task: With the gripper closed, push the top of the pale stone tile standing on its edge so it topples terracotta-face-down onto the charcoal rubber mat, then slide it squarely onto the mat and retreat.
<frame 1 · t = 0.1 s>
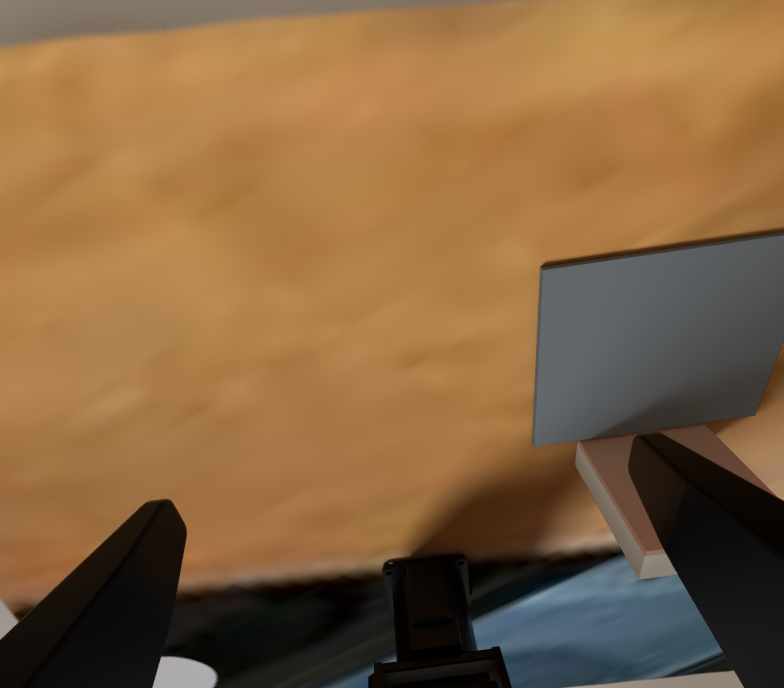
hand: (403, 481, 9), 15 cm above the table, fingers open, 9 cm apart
mat: (657, 347, 25), on the table
tile: (636, 445, 29), on the table
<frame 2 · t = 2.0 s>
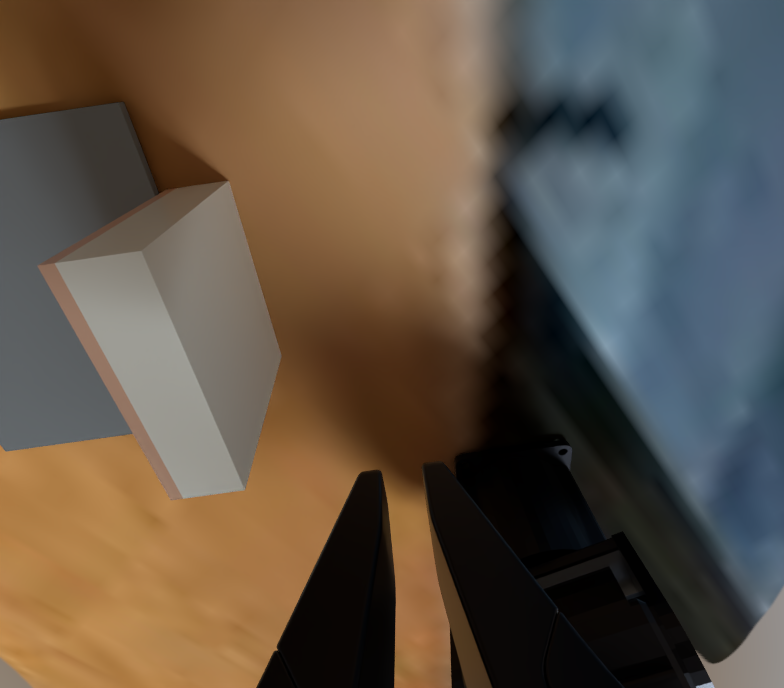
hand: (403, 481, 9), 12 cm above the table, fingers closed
mat: (56, 306, 19), on the table
tile: (234, 280, 19), on the table
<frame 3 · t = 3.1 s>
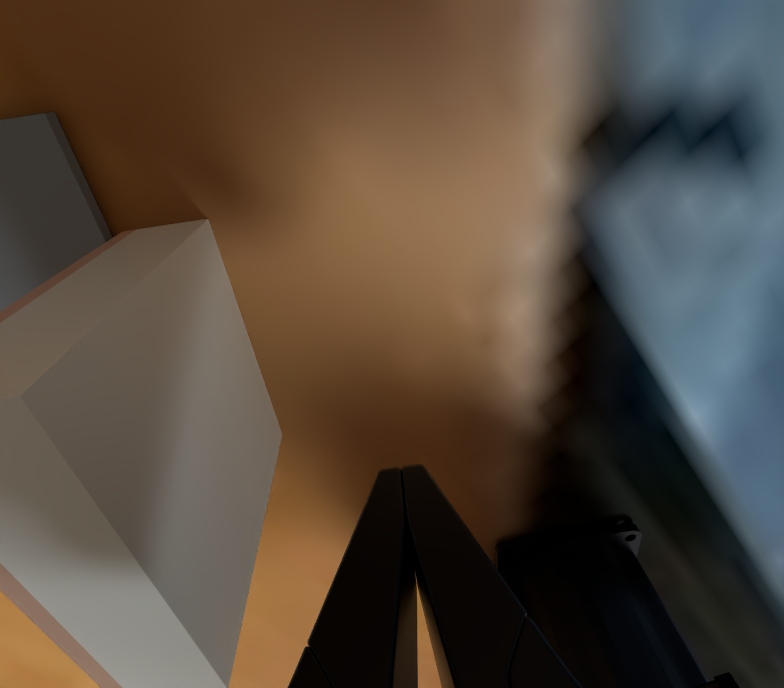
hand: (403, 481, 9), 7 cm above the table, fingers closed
tile: (220, 346, 14), on the table
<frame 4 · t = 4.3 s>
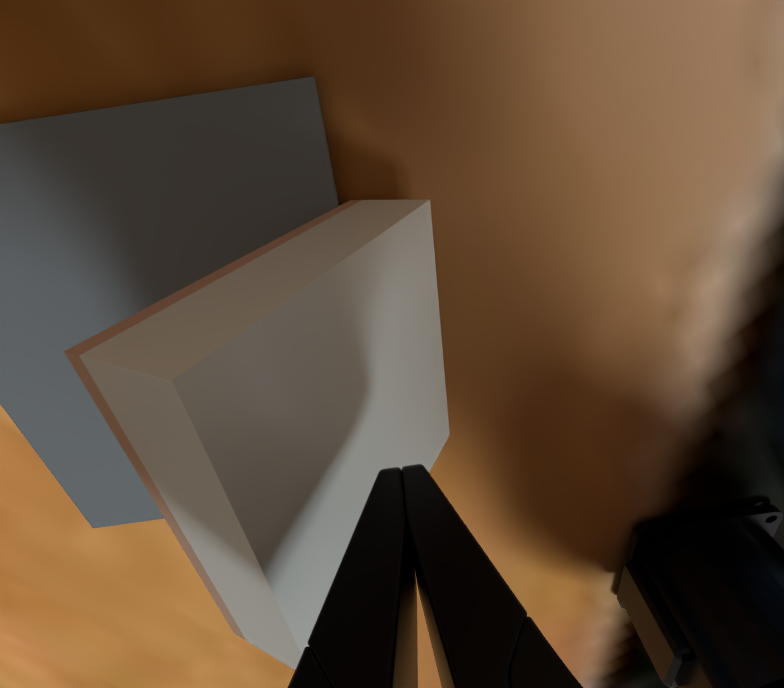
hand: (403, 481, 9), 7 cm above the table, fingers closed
mat: (178, 354, 14), on the table
tile: (411, 331, 14), point 1 cm above the table, tilted 31°
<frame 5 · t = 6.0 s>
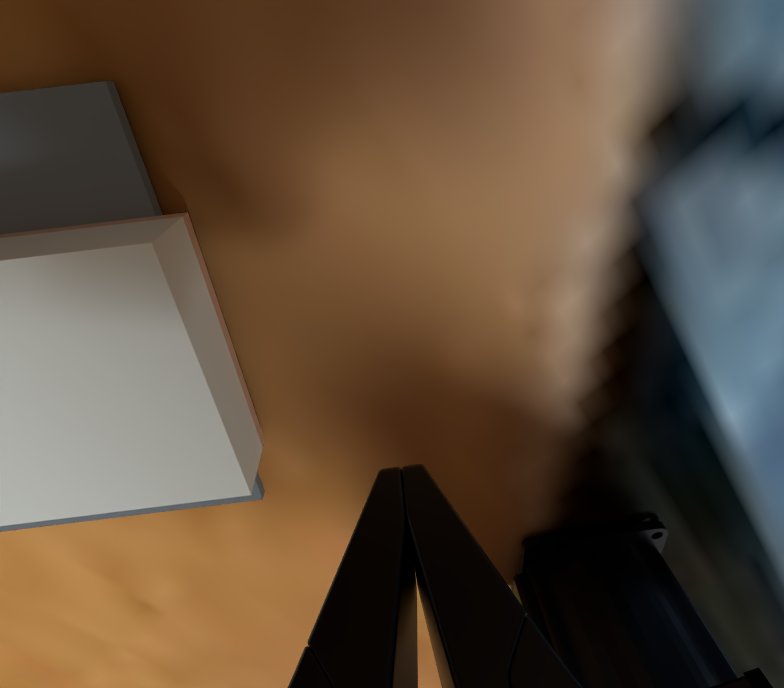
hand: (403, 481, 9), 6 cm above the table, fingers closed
mat: (16, 363, 14), on the table
tile: (220, 369, 12), point 2 cm above the table, tilted 90°, touching mat
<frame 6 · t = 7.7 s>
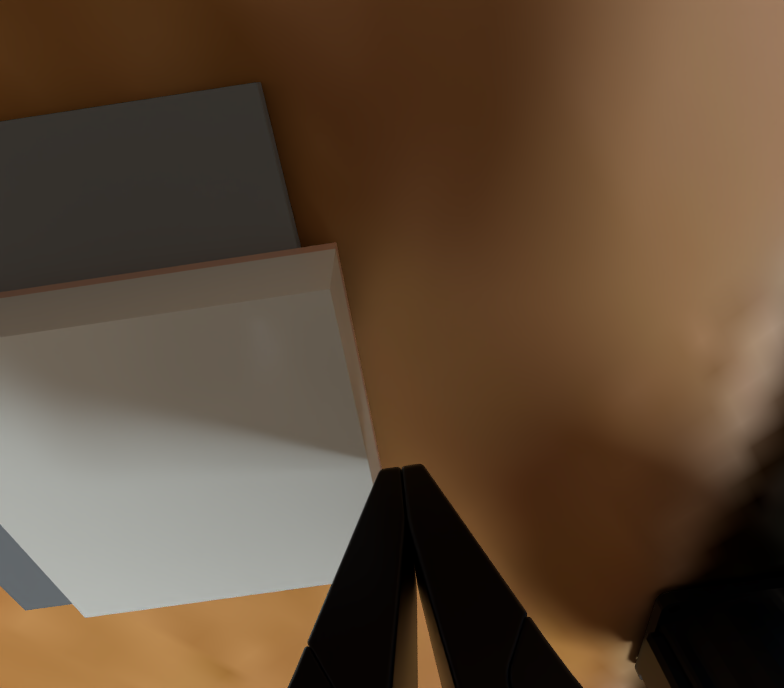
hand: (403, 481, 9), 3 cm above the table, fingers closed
mat: (111, 421, 12), on the table
tile: (367, 431, 10), point 2 cm above the table, tilted 90°, touching mat
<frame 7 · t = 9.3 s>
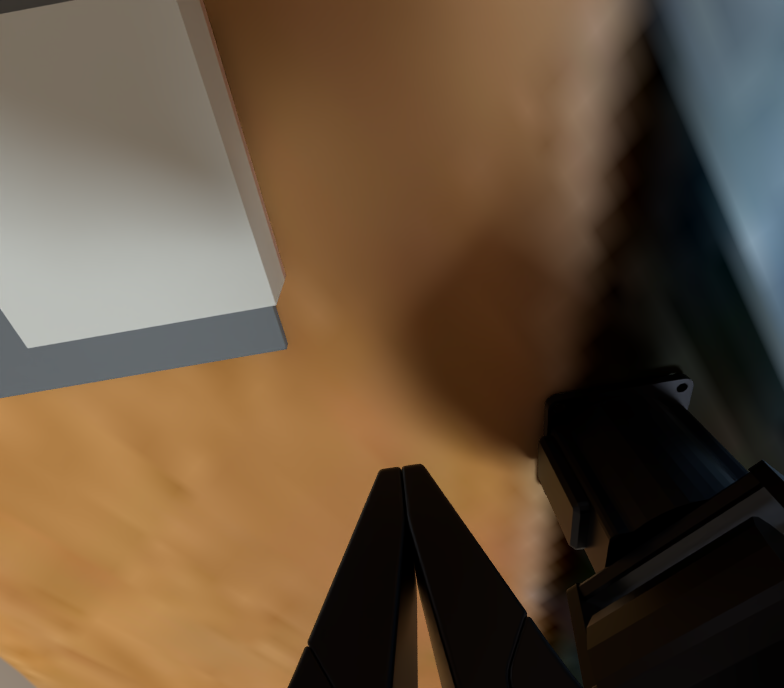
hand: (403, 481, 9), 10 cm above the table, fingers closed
mat: (45, 192, 14), on the table
tile: (240, 165, 13), point 2 cm above the table, tilted 90°, touching mat
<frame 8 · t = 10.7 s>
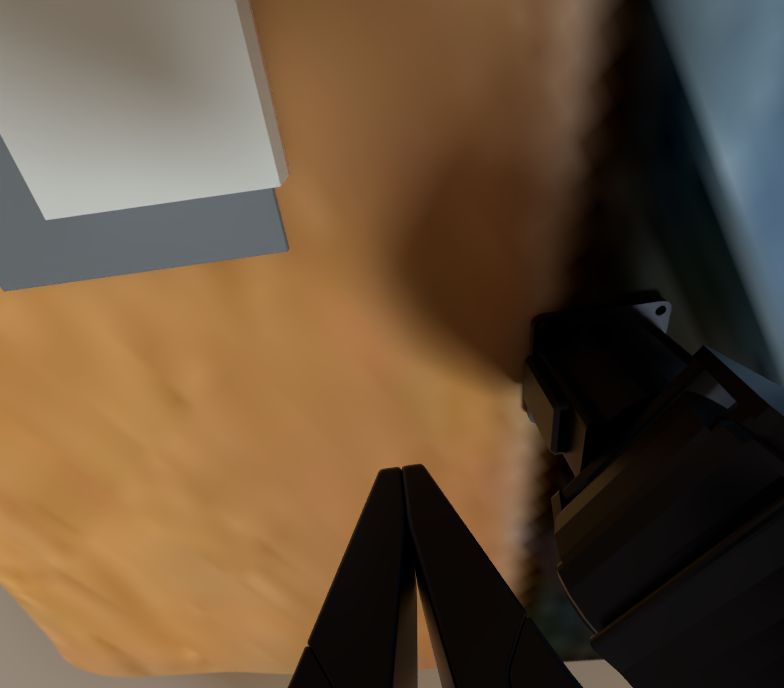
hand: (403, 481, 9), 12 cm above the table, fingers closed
mat: (67, 77, 15), on the table
tile: (253, 45, 14), point 2 cm above the table, tilted 90°, touching mat
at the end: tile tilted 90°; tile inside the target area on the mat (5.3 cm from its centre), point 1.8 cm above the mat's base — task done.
